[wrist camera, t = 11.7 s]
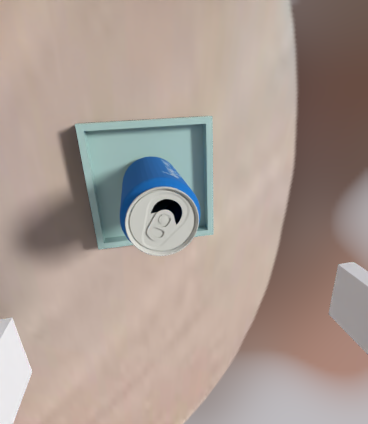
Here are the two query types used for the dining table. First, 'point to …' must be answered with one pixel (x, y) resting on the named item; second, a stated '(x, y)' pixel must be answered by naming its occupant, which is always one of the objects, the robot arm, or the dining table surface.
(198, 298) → the dining table surface
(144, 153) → the tray
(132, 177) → the beverage can
